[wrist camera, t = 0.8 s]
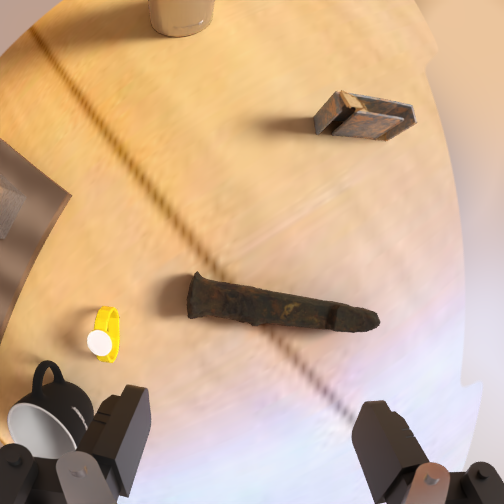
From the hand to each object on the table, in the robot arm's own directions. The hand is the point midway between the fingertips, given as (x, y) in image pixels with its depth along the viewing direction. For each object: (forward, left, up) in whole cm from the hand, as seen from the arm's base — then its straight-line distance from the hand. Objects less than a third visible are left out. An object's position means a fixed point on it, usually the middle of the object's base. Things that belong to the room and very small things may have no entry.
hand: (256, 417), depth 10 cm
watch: (-2, -12, -25) cm, 28 cm away
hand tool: (+2, +8, -25) cm, 27 cm away
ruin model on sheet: (-16, +25, -25) cm, 39 cm away
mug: (+4, -22, -25) cm, 34 cm away
